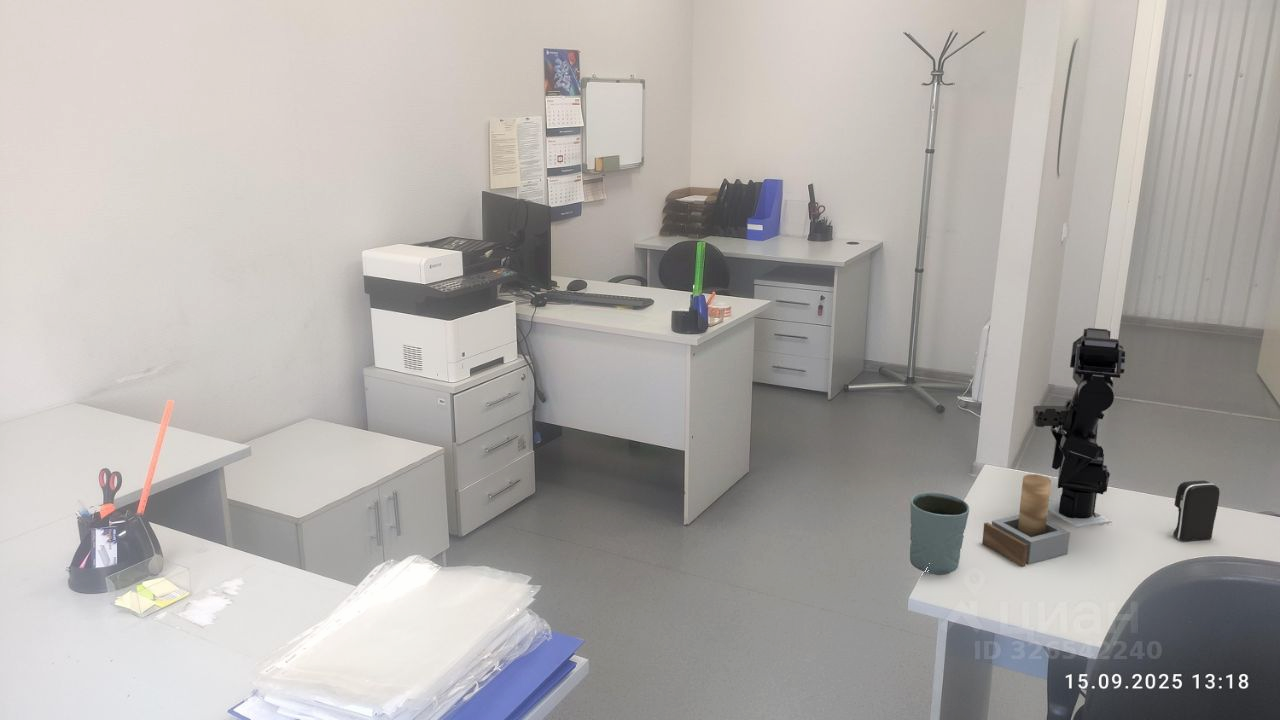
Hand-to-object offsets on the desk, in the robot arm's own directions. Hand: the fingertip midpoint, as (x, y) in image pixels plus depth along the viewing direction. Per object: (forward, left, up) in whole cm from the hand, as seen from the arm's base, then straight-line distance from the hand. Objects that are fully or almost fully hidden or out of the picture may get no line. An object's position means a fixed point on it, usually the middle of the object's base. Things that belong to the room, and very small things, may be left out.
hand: (1057, 475), depth 173 cm
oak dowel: (+10, +4, -11) cm, 15 cm away
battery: (-22, +13, -12) cm, 28 cm away
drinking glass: (+30, +1, -12) cm, 32 cm away
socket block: (+10, +4, -12) cm, 16 cm away
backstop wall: (+16, +4, -12) cm, 21 cm away
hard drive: (-10, -4, -13) cm, 17 cm away
